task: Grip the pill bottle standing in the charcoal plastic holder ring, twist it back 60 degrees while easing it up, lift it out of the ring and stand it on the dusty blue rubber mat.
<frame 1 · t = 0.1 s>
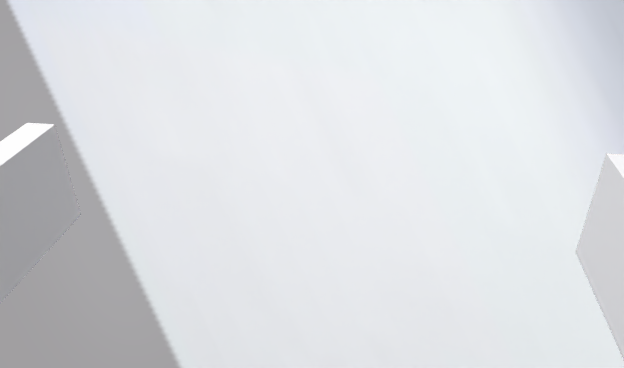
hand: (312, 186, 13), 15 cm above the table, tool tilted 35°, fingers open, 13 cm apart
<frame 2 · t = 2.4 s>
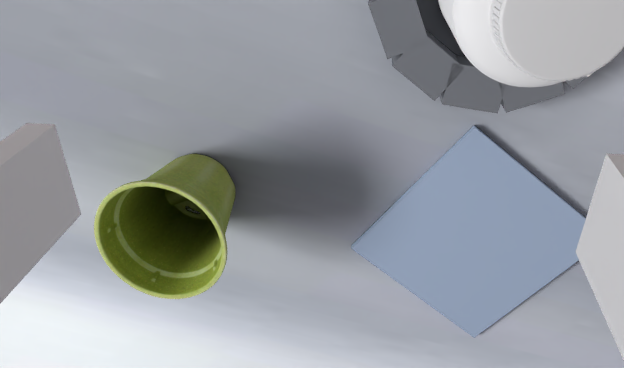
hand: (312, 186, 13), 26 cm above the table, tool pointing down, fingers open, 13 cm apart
rubber mat: (473, 240, 43), on the table
plant pot: (200, 185, 44), on the table
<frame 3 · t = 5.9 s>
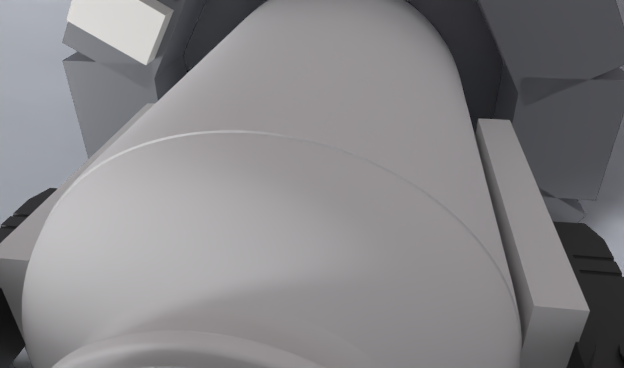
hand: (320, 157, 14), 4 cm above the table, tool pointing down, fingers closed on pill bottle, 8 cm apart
holder ring: (336, 98, 18), on the table
pill bottle: (337, 95, 18), on the table, touching gripper
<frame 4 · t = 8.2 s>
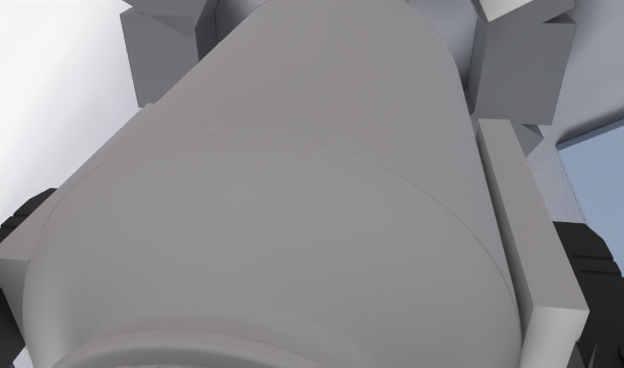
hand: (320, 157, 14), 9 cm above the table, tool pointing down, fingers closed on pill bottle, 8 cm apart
holder ring: (341, 48, 21), on the table
pill bottle: (337, 95, 18), point 4 cm above the table, touching gripper
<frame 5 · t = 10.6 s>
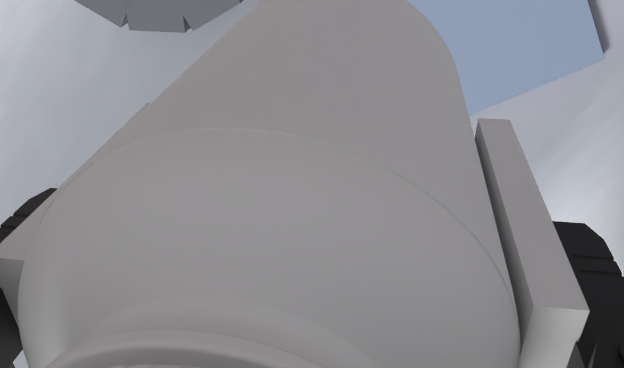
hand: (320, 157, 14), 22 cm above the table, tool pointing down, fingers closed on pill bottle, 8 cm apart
rubber mat: (455, 9, 33), on the table
pill bottle: (336, 94, 18), point 18 cm above the table, touching gripper
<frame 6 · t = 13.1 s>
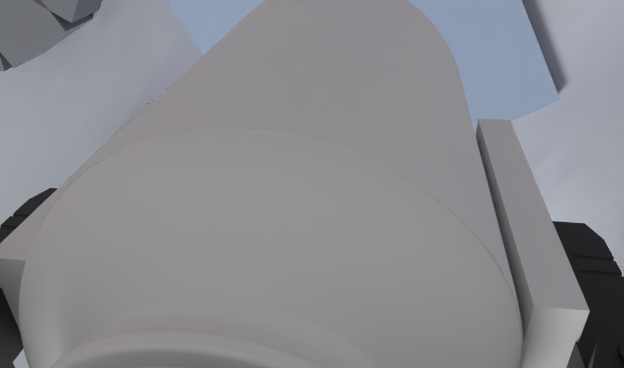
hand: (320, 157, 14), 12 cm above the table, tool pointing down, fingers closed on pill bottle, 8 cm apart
rubber mat: (356, 35, 25), on the table
pill bottle: (337, 95, 18), point 8 cm above the table, touching gripper
when the fingers open (6 cm above the table, at t = 15.2 s): pill bottle drops 1 cm, resting on rubber mat.
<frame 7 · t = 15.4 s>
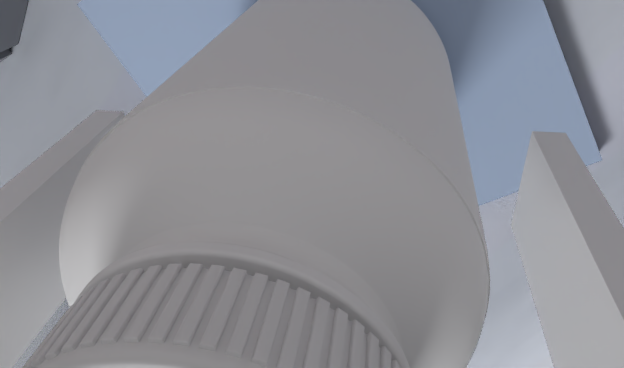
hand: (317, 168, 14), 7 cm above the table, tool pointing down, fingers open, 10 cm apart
rubber mat: (342, 77, 19), on the table
pill bottle: (336, 81, 19), resting on rubber mat
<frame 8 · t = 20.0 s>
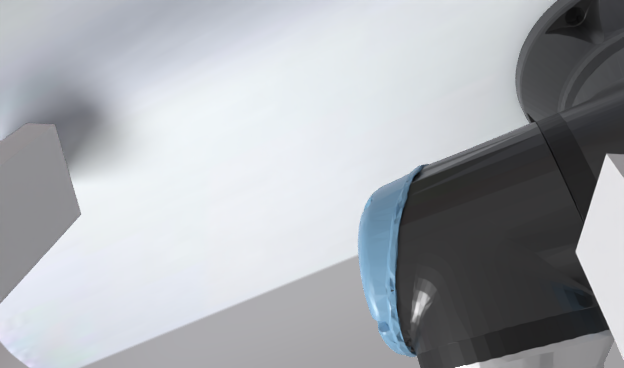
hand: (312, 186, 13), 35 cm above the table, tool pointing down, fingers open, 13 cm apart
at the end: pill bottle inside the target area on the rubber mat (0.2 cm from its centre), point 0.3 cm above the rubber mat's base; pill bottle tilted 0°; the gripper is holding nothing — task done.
